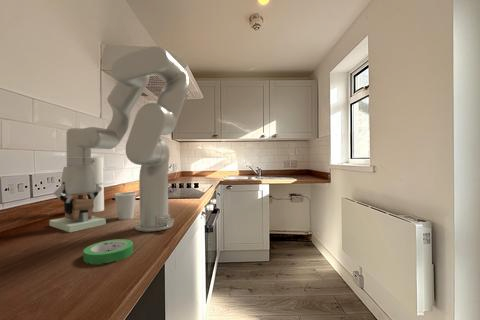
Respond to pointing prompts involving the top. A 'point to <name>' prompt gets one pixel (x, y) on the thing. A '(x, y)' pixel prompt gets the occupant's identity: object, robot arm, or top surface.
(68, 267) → the top surface
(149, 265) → the top surface
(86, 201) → the walnut block
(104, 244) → the tape roll
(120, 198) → the dixie cup
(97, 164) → the cylindrical container
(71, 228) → the cleat board
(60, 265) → the top surface
